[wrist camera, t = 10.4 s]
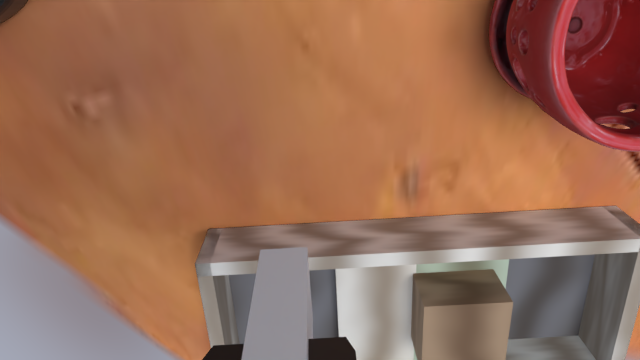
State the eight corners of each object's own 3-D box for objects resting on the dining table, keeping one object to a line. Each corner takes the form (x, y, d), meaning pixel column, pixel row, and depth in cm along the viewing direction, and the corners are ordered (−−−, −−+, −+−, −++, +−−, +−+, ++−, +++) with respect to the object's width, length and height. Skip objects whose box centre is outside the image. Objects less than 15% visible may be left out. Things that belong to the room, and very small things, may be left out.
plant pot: (603, 117, 39) (717, 176, 28) (451, 80, 37) (509, 126, 26) (689, -56, 34) (870, -68, 23) (517, -107, 32) (622, -146, 21)
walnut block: (410, 336, 44) (421, 373, 40) (412, 273, 42) (424, 306, 38) (486, 332, 44) (504, 369, 40) (493, 269, 42) (513, 302, 38)
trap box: (231, 360, 49) (222, 406, 44) (208, 228, 42) (195, 264, 37) (586, 341, 48) (618, 384, 43) (615, 205, 42) (657, 237, 37)
